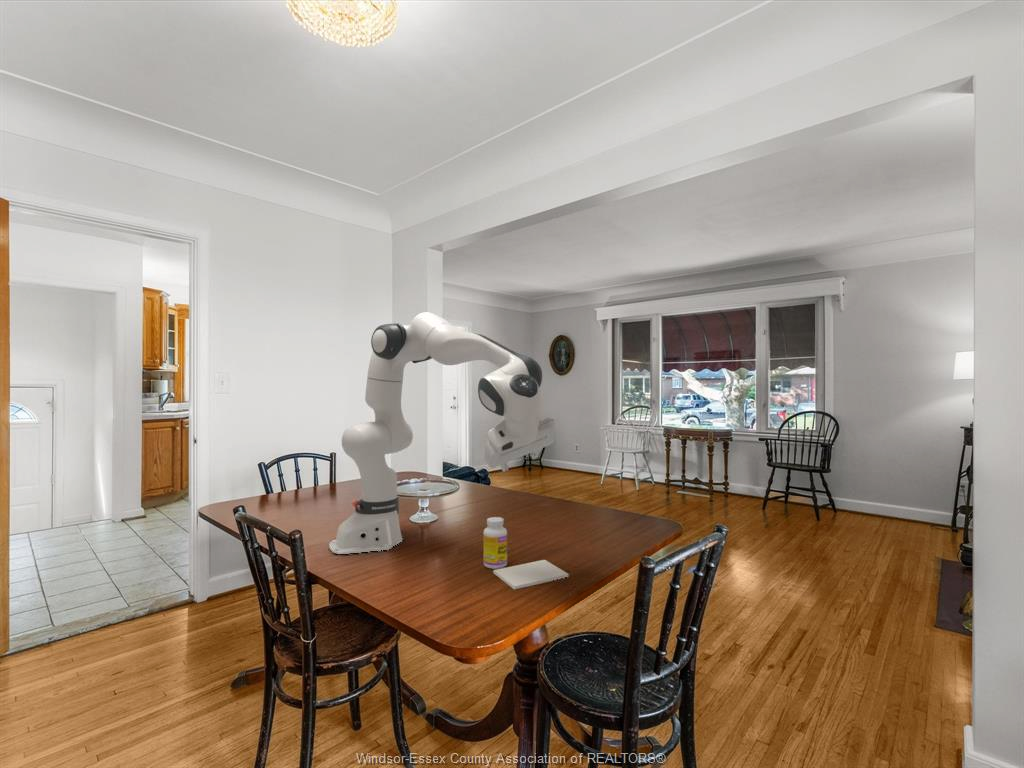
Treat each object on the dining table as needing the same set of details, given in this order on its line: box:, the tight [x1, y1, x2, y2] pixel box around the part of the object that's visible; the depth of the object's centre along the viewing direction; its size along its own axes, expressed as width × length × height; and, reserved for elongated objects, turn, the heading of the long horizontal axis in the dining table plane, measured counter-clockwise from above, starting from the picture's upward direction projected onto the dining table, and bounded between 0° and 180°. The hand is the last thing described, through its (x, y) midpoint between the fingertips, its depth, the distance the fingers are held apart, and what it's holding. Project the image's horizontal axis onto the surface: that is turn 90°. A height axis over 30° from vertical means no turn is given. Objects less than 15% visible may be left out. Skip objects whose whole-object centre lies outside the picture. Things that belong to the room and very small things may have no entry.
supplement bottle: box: [482, 516, 508, 570], centre depth 138 cm, size 7×7×13 cm
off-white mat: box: [492, 559, 570, 590], centre depth 130 cm, size 16×12×1 cm
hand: (519, 463), depth 138 cm, fingers open, 8 cm apart
